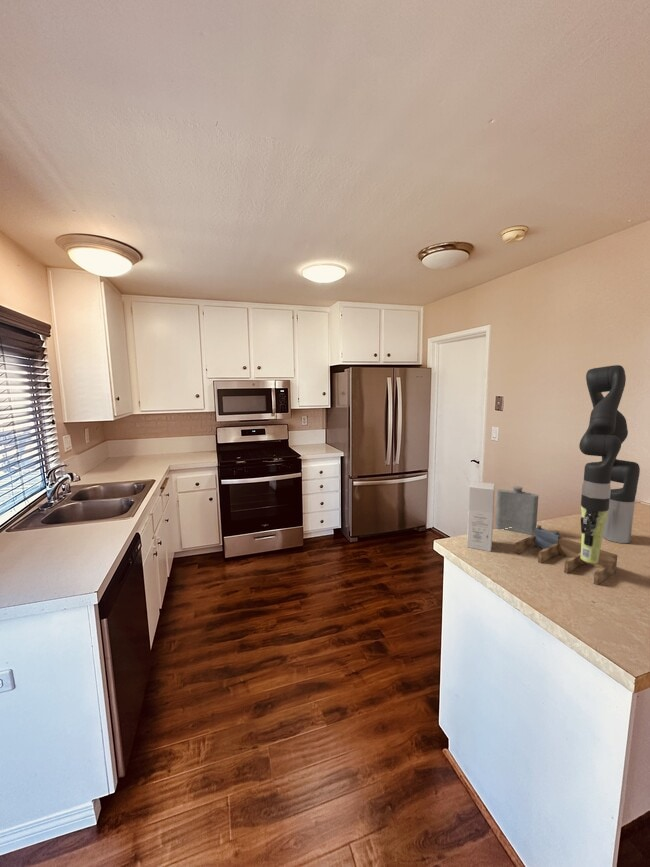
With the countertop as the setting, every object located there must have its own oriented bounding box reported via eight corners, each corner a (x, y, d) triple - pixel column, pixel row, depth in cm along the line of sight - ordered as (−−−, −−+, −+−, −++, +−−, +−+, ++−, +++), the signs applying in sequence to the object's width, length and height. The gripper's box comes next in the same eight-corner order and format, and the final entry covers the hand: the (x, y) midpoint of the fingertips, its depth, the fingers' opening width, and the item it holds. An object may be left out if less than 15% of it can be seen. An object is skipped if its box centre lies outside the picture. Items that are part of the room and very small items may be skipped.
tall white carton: (492, 543, 145) (495, 483, 141) (490, 551, 137) (494, 489, 134) (469, 538, 149) (471, 481, 145) (466, 547, 141) (469, 486, 138)
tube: (592, 556, 123) (596, 502, 120) (604, 563, 118) (609, 507, 115) (576, 557, 123) (580, 503, 120) (588, 564, 118) (592, 508, 115)
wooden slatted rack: (535, 543, 144) (536, 524, 143) (616, 571, 121) (618, 548, 120) (514, 552, 136) (515, 532, 135) (597, 584, 113) (599, 560, 112)
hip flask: (494, 528, 159) (496, 485, 157) (496, 525, 163) (498, 483, 160) (535, 536, 151) (538, 490, 148) (536, 533, 154) (539, 488, 151)
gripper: (591, 488, 124) (587, 534, 126) (572, 495, 116) (569, 544, 119) (618, 493, 118) (613, 541, 120) (600, 501, 110) (595, 553, 112)
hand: (591, 542), depth 119 cm, fingers closed on tube, 4 cm apart
